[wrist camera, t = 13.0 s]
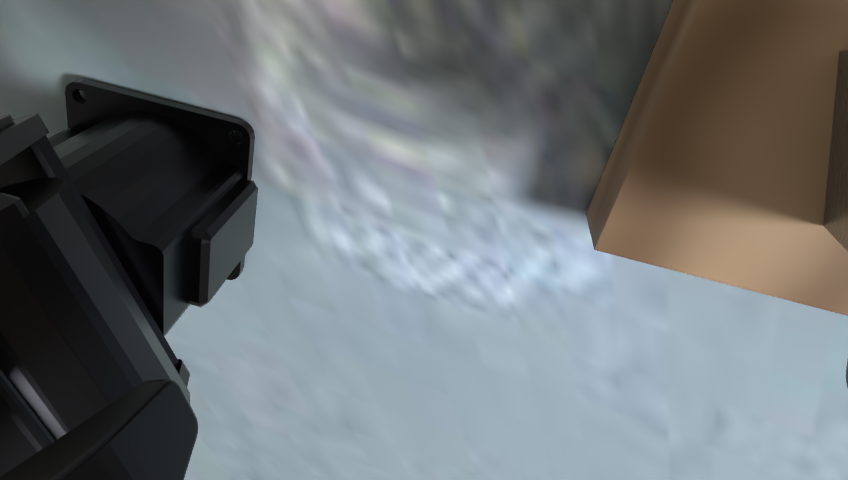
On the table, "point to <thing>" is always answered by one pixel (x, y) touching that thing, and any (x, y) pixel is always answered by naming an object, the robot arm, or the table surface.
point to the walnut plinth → (732, 151)
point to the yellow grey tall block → (838, 160)
